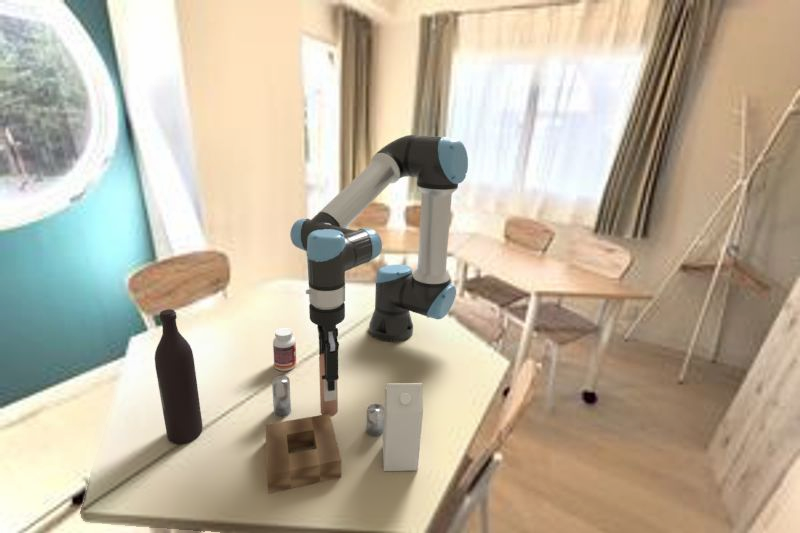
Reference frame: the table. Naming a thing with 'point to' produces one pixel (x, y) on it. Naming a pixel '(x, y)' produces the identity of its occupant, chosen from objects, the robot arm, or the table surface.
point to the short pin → (375, 420)
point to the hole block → (305, 464)
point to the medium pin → (281, 396)
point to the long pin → (327, 406)
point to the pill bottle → (284, 349)
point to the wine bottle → (177, 383)
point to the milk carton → (402, 426)
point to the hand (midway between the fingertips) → (328, 393)
